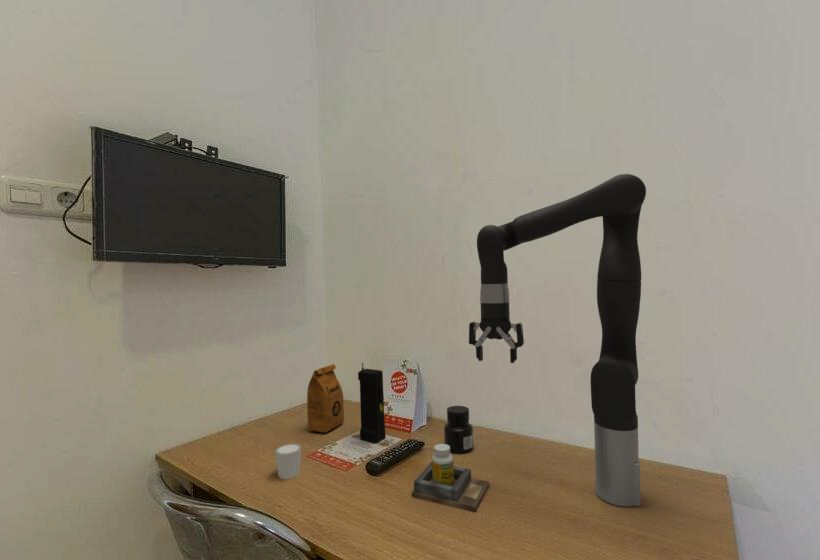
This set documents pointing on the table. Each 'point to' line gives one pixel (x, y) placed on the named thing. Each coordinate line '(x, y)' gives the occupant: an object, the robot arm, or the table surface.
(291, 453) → the white tapered cylinder
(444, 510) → the table surface
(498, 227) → the robot arm
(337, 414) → the coffee package
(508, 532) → the table surface
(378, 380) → the portable radio
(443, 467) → the supplement bottle
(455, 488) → the socket stand
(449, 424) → the ink bottle
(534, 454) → the table surface
